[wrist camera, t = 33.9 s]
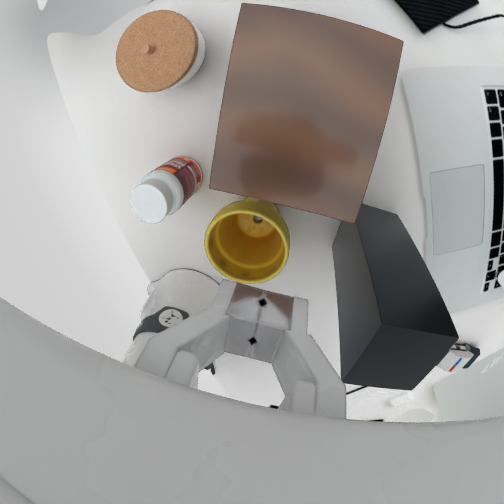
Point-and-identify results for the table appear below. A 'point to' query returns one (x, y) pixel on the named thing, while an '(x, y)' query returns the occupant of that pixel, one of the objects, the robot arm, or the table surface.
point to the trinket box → (159, 51)
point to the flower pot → (248, 241)
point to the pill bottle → (165, 189)
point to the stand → (386, 304)
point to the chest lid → (303, 110)
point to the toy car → (458, 358)
